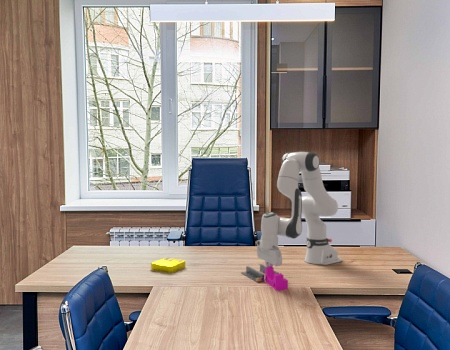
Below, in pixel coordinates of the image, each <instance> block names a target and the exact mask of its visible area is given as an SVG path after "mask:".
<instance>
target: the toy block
mask: <svg viewBox="0 0 450 350" xmlns="http://www.w3.org/2000/svg"><path fill="white" fill-rule="evenodd" d="M274 271H275V270H274V266H273V267H267V266H266V267H265V273H264V282H265V283H267V285H269V286H270V287H271V288H272V287H273V288H274V289H273V288H272V289H273V290H275V291H285V290H284V289H287V290H289V280H288V279H287V278H285V277H284V278H283V275H284V274H283V273H282V272H280V273H279V272H278V273H279V274H274Z"/></svg>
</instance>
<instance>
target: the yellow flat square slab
mask: <svg viewBox="0 0 450 350" xmlns="http://www.w3.org/2000/svg"><path fill="white" fill-rule="evenodd" d="M185 268H186V260H185V259H179V258H171V257H163V258H160V259H158V260H155V261H153V262H152V261H151V262H150V269H151V270H150V271H154V272H159V273H165V274H174V273H177V272H178V271H181V270H183V269H185Z"/></svg>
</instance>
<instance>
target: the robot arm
mask: <svg viewBox="0 0 450 350" xmlns="http://www.w3.org/2000/svg"><path fill="white" fill-rule="evenodd" d="M280 161H281V167H280V170H279V172H278V177H277V181H276V187H277V190H278V191H279V192H280V193H281V194H282V195H283V196H285V197H287V198H288V199H290V201H291V217H290V218H289V217H283V216H282V217H281V216H279V215H278V214H277V213H276V212H273V211H269V212H264V213H263V214H262V216H261V222H260V231H261V236H260V239H259V240H256V245H257V246H256V255H257V258H259V259H261V260H263V261H264V263H265V266H266V267H273V268H274V267H281V266H282V265H283V256H282V255H283V254H282V252H281V250H280V248H279V237H280V236H281V237H287V238H290V239H294V240H295V239H296V238H298V237H299V236H300V235H301V234H302V231H303V223H302V216H303V217H304V219H305V223H306V226H307V227H306V228H307V229H306V230H307V231H306V232H307V237H306V251H305V252H306V253H305V257H304V262H306V263H307V264H314V265H322V266H327V265H331V264H335V263H339V262H342V260H343V259H342V258H341V257H339V254H338V251H337V249H336V248H334V246H332V245H330V243H332V242H333V239H332V238H327V225H326V223H325V222H324V221H323V220H321V218H320V216H323V217H333V216H335V215H336V214H337V212H338V210H339V204H338V202H337V200H336V199H334V198H333V197H332V196H331V195H330V194H329V193H328V192H327V189H326V188H325V185H324V183H323V179H322V173H321V169H320V157H319V155H318V154H317V153H315V152H311V151H310V152H309V151H296V152H295V151H294V152H291V151H290V152H286V153H285V154H283V156H282V157H281V160H280ZM300 174H301V180H302V185H303V189H304V191H305V192H306V193H307V194H308V195H305V196H303V195H302V191H301V190H300V189H299V188H300V187H299V180H300Z"/></svg>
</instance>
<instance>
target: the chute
mask: <svg viewBox="0 0 450 350" xmlns="http://www.w3.org/2000/svg"><path fill="white" fill-rule="evenodd" d="M265 267H267V266H266V265H264V264H262V263H260V264H259V271H258V270H256V269H254V268H252V266H249V265H248V266H246V268H245V270H246V271H242V272H240V273H241V275H244V276H245V277H247V278H249V279H251V280H253V281H254V282H255V283H263V282H265ZM274 274H279V272H278V271H277V270H274ZM283 278H285V277H284V274H283Z"/></svg>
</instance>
